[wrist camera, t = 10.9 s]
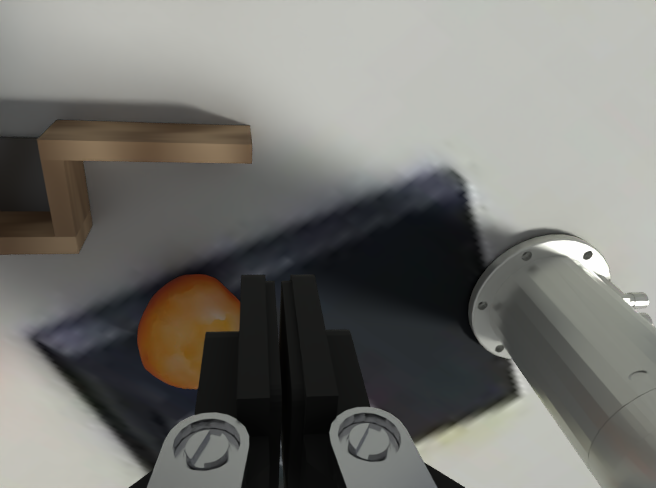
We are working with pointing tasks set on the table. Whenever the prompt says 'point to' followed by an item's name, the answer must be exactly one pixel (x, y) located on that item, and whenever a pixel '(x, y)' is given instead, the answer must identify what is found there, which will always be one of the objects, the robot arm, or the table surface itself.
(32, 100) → the table surface
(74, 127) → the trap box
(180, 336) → the fruit
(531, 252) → the robot arm
